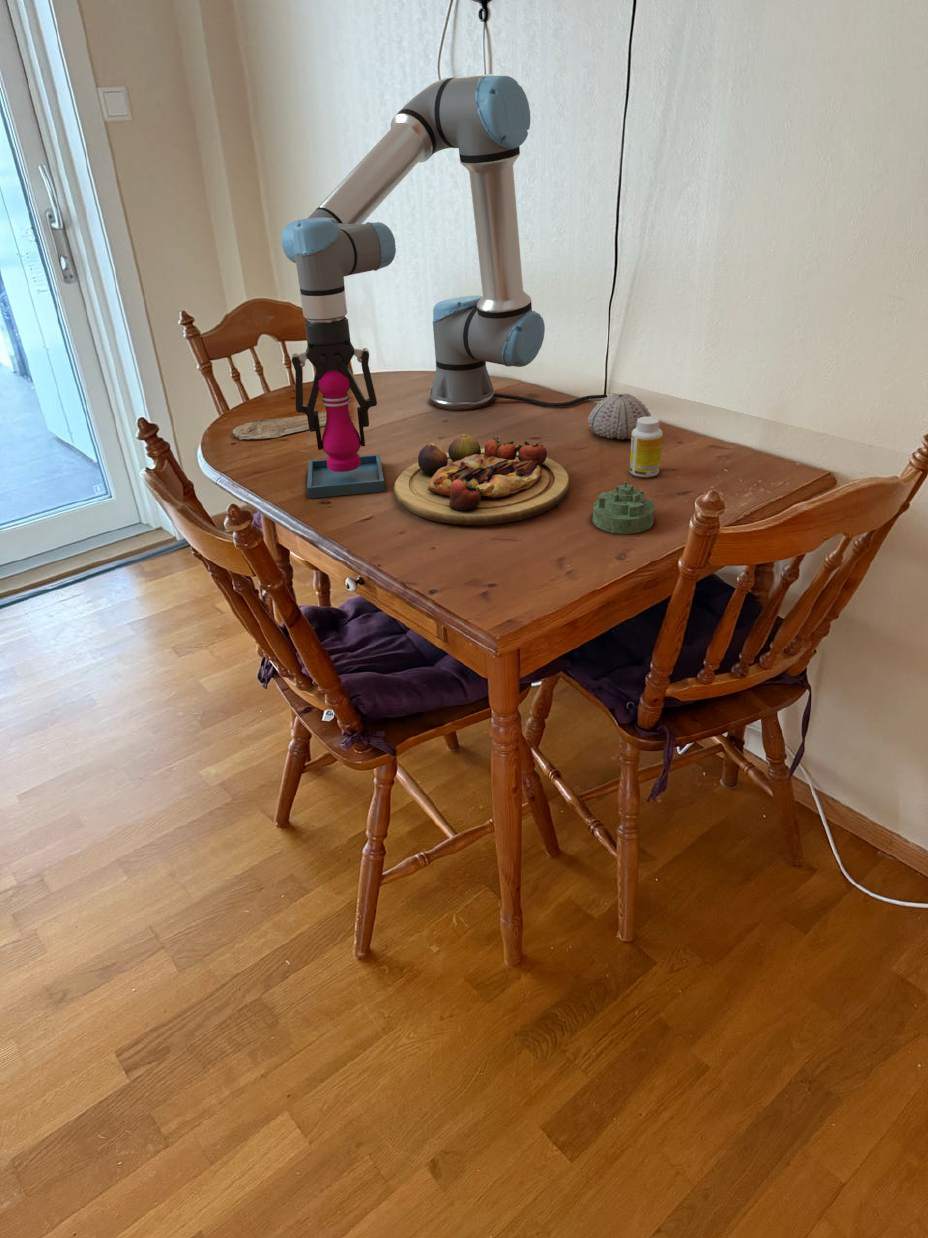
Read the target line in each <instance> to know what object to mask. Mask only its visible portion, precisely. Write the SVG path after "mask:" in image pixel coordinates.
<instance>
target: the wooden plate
mask: <svg viewBox="0 0 928 1238" xmlns="http://www.w3.org/2000/svg"><path fill="white" fill-rule="evenodd" d="M514 442H515V441H514V440H511V441H509V442H508V441H507V442H502V443H501V442H500V440H499V437H498V436H497V437H495V438H494V437H492V438H491V439H489V440H488V441H487V442H486V443H485V445H484V447H483V448H481V445H480V442H479V441H478V440H477V439H476V438H474V437H473V436H471V435H468V434H467V433H463V434H461V435H460V436H457V437H456V438H454V440H453V441H452V442H451V443H450V445H449V446H448V449H447V450H448V451H447V452H446V451H445V450H444V449H443V448H442V447H441V446H440V445H438V444H436V443H435V442H433V441H432V442H430V443H427V444H425V445H424V446H423V447H422V448H421V449H420V451H419V453H418V456H417V462H416V463H414V464H412V465H410V466H408V467H407V468H405V469H404V470H403V471H402V472H401V473H400V474H399V475H398V477H397V478H396V480H395V482H394V485H393V493H394V497H395V498H396V500H397V502H398V503H399V505H401V506H402V508H403V509H405V510H407V511H408V512H410V513H412V514H414V515H416V516H417V517H421V518H424V519H427V520H429V521H432V522H433V521H434V522H437V523H438V522H439V523H445V524H451V525H462V526H487V525H498V524H499V525H500V524H505V523H511V522H512V523H513V522H518V521H522V520H525V519H528V518H532V517H535V516H537V515H540V514H542V513H545V512H547V511H549V510H551V509H552V508H554V507H556V506H557V505H559V504H560V503H561V502H562V501H563V500H564V498H565V497H566V496H567V494H568V492H570V491H569V490H570V487H571V478H570V476H569V474H568V472H567V470H566V469H565V468H564V467H563V466H562V465H561V464H559V463H558V462H556V461H555V460H553V459H551V458H549V457H548V451H547V447H545V446H544V445H543V444H540V443H541V442H537V443H535V444H531V443H529V442H528V441H525V440H523V444H524V445H523V444H518V446H517V447H516V445H515V444H514Z"/></svg>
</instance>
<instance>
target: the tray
mask: <svg viewBox="0 0 928 1238" xmlns="http://www.w3.org/2000/svg"><path fill="white" fill-rule="evenodd" d="M360 462H361V464H360V466H359V467H358V468H357V469H355V470H351V471H347V472H335V471H331V470H329V469H328V467H327V458H322V459H321V458H320V459H312V460H311V459H309V460H308V462H307V463H308V464H307V465H308V466H307V484H306V485H307V486H306V487H307V488H306V489H307V494H308V496H307V497H308V499H309V500H310V499H320V498H329V497H340V496H351V495H361V494H370V493H371V494H372V493H381V492H386V488H385V479H384V472H383V466H382V459H381V454H380V453H378V454H365V455H360Z"/></svg>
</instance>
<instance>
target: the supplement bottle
mask: <svg viewBox="0 0 928 1238" xmlns="http://www.w3.org/2000/svg"><path fill="white" fill-rule="evenodd" d="M663 434H664V433H663V430H662V429H661V428H660V419H659V418H657V417H655V416H651V417H641V418H638V420H637V427H636V428H635V429H634V430H633V431H632V438H631V439H630V455H629V472H630V474H631V475H633V476H634V477H637V478H644V479H645V478H652V477H656V476H657V475H658V474H659V473H660V470H661V462H662V461H661V460H662V448H663V447H662V446H663V437H664V436H663Z"/></svg>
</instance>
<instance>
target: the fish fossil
mask: <svg viewBox="0 0 928 1238" xmlns="http://www.w3.org/2000/svg"><path fill="white" fill-rule="evenodd" d="M318 416H319V424H320V428H321V427H325V425H326V411H325V412H318ZM304 431H310V430H309V425H308V418H307V415H306V414H304V415H295V416H288V417H276V418H266V419H258V420H257V421H252V422H251V421H250V422H246V423H243V424H240V425H238V426H236V427H234V428H233V430H232V434H233V435H234V436H235V437H236V438H237V439H238V440H266V439H274V438H281V437H282V436H285V435H290V434H294V433H299V432H304Z"/></svg>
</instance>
